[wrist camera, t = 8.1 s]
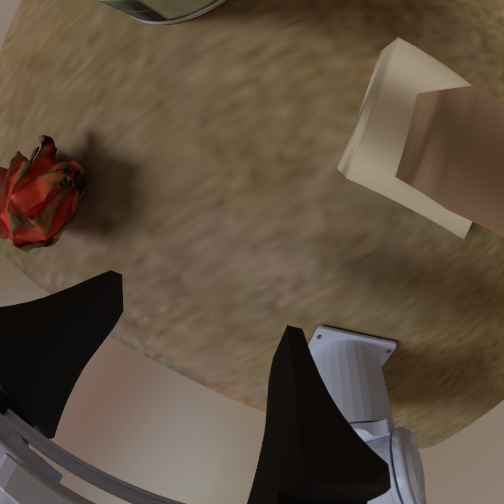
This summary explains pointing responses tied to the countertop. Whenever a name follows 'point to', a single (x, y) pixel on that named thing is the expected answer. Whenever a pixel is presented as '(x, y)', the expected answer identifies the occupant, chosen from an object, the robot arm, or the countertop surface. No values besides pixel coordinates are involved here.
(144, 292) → the countertop surface
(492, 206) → the walnut block
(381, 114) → the birch base block
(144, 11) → the coffee can
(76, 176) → the dragon fruit
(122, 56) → the countertop surface
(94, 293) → the robot arm
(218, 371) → the countertop surface
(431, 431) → the countertop surface
